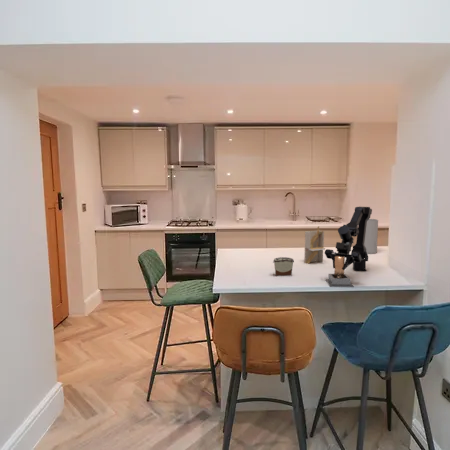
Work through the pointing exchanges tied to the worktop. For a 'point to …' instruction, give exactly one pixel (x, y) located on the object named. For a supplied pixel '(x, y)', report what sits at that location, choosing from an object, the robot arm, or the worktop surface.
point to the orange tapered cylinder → (339, 266)
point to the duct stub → (339, 281)
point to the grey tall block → (371, 236)
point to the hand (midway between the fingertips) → (338, 268)
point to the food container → (283, 266)
